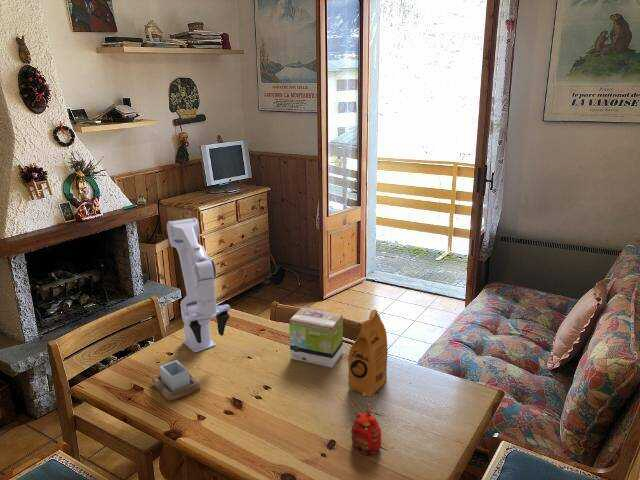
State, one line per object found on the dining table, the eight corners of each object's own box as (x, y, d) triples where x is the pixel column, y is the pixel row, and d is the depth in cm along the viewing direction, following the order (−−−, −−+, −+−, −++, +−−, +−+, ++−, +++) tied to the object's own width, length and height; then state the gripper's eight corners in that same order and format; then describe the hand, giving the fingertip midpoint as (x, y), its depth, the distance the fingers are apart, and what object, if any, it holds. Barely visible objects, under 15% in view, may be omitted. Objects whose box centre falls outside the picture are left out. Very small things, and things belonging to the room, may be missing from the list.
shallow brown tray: (153, 384, 157) (152, 377, 156) (182, 373, 163) (182, 366, 162) (169, 402, 148) (168, 395, 147) (200, 390, 154) (199, 383, 153)
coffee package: (342, 389, 153) (341, 321, 146) (362, 369, 163) (363, 305, 156) (372, 399, 148) (373, 329, 141) (391, 378, 158) (393, 312, 151)
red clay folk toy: (346, 449, 128) (346, 397, 124) (359, 433, 134) (359, 382, 129) (374, 461, 124) (375, 407, 120) (386, 443, 130) (387, 391, 125)
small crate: (161, 383, 156) (159, 366, 154) (178, 377, 160) (176, 359, 158) (173, 395, 150) (171, 377, 149) (190, 388, 154) (188, 370, 152)
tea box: (289, 360, 169) (287, 319, 164) (302, 345, 178) (300, 306, 173) (333, 368, 164) (332, 326, 159) (343, 353, 172) (343, 312, 168)
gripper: (189, 309, 152) (194, 350, 156) (233, 296, 161) (236, 335, 165) (179, 301, 157) (184, 341, 162) (222, 289, 166) (226, 327, 170)
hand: (210, 338), depth 164 cm, fingers open, 7 cm apart
